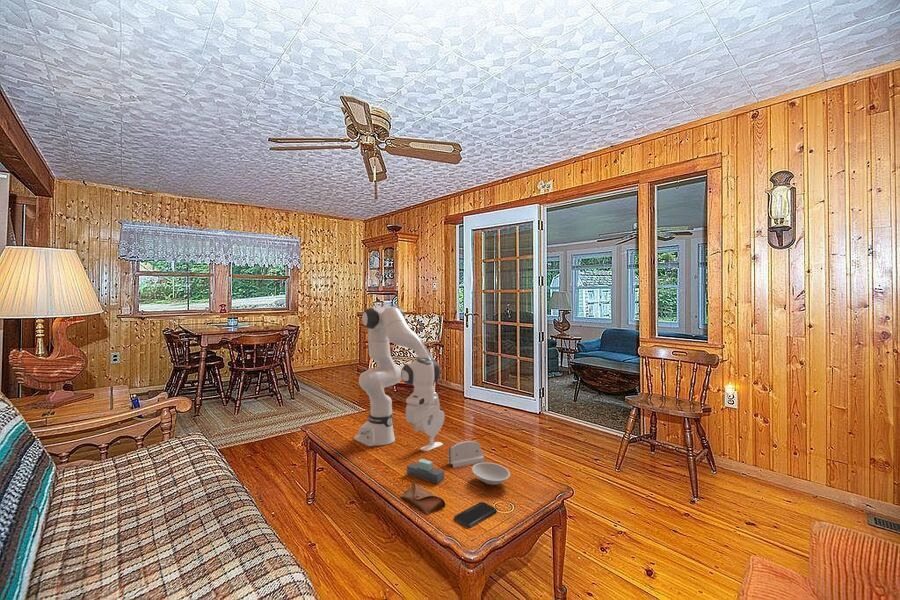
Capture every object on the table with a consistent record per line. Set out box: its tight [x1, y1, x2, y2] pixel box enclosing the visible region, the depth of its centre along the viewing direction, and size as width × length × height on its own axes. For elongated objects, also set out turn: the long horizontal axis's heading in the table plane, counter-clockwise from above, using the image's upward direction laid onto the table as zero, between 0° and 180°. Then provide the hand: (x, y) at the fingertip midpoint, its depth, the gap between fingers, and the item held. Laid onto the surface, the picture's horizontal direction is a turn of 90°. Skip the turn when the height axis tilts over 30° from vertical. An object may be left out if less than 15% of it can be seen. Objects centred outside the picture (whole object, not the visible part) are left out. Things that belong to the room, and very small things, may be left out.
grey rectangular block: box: [406, 461, 445, 485], centre depth 169 cm, size 16×5×4 cm, turn 58°
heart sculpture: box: [418, 409, 446, 452], centre depth 202 cm, size 16×5×18 cm, turn 137°
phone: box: [453, 501, 498, 529], centre depth 140 cm, size 8×1×15 cm
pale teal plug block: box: [417, 458, 434, 472], centre depth 169 cm, size 6×3×6 cm, turn 57°
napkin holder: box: [448, 440, 485, 468], centre depth 184 cm, size 17×5×10 cm, turn 114°
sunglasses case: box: [399, 482, 446, 516], centre depth 149 cm, size 18×7×7 cm, turn 44°
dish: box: [471, 461, 511, 486], centre depth 163 cm, size 18×14×5 cm
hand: (423, 427), depth 172 cm, fingers open, 8 cm apart
